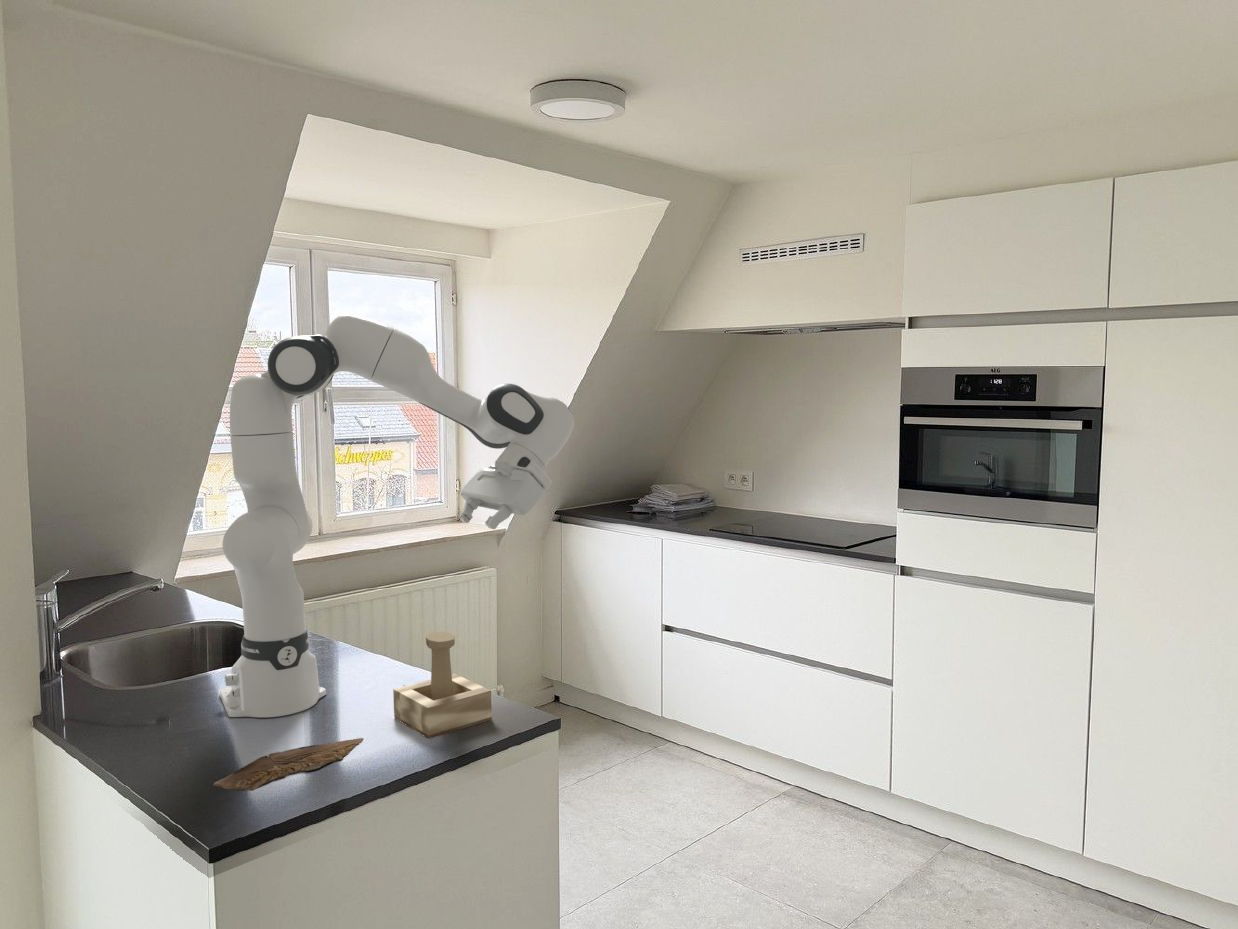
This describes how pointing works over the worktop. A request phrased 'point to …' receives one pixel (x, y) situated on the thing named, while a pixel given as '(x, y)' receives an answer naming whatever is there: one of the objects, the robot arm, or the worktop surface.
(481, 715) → the socket block
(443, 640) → the handle
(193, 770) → the worktop surface
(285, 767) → the wooden fragment
